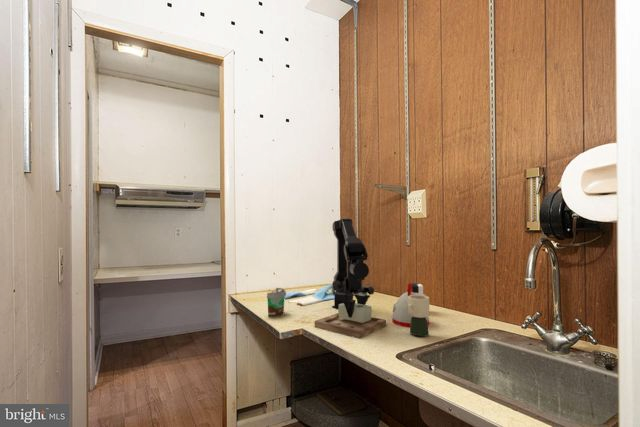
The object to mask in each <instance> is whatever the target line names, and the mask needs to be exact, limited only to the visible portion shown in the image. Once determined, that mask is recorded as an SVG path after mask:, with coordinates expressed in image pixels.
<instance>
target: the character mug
mask: <svg viewBox="0 0 640 427" xmlns="http://www.w3.org/2000/svg"><path fill="white" fill-rule="evenodd" d="M408 313H409V315H411V316H412V318H411V324H410V328H409V333H410V334H411V335H415V336H417V337H418V336H419V337H420V336H423V337H425V336H426V337H427V336H429V334H430V332H429V325H428V324H427V319H426V318H425V317H428V316H429V317H430V297H429V296H428V295H425V296H423V295H410V296H408Z"/></svg>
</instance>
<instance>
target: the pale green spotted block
mask: <svg viewBox="0 0 640 427" xmlns="http://www.w3.org/2000/svg"><path fill="white" fill-rule="evenodd" d="M338 313H339V318H342V319H347V320H352V321H356V322H361V323H364V322H366V321H369V320H371V317H372V305H367V304H365V305H363V304H357V302H355V306H354V310H353V315H352V317H351V318H350V317H349V316H348V313H347V310H346V308H345V305H344V303H342V304H339V308H338Z"/></svg>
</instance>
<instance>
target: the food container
mask: <svg viewBox="0 0 640 427" xmlns="http://www.w3.org/2000/svg"><path fill="white" fill-rule="evenodd" d="M286 293H287V291H286V290H285V288H281V287H276V288H275V290H273V291H271V292H267V294H266V299H267V312H268V313H267V317H270V318H271V317H279V316H282V315H283V316H284V314H285V312H284V311H285V300H286V299H285V296H286ZM284 299H285V300H284ZM283 313H284V314H283Z"/></svg>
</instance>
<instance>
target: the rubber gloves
mask: <svg viewBox="0 0 640 427" xmlns="http://www.w3.org/2000/svg"><path fill="white" fill-rule="evenodd" d="M331 288H332V284H328V285H326V286H323V287H322V288H319V289H318V288H312V289H311V288H310V289H306V290H303V291H297V290H294V291H289V292H286V296H285V300H288V299H290V298H298V297H299V299H294V300H293V299H292V300H289V301H288V303H290V304H291V302H293V303H296V304H297V305H296V306H301V307H306V306H311V305H315V304H318V303H322V302H325V301H332V300H333V301H334V295H333V294H332V291H331V292H329V290H331ZM289 297H290V298H289ZM300 297H303V298H300Z"/></svg>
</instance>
